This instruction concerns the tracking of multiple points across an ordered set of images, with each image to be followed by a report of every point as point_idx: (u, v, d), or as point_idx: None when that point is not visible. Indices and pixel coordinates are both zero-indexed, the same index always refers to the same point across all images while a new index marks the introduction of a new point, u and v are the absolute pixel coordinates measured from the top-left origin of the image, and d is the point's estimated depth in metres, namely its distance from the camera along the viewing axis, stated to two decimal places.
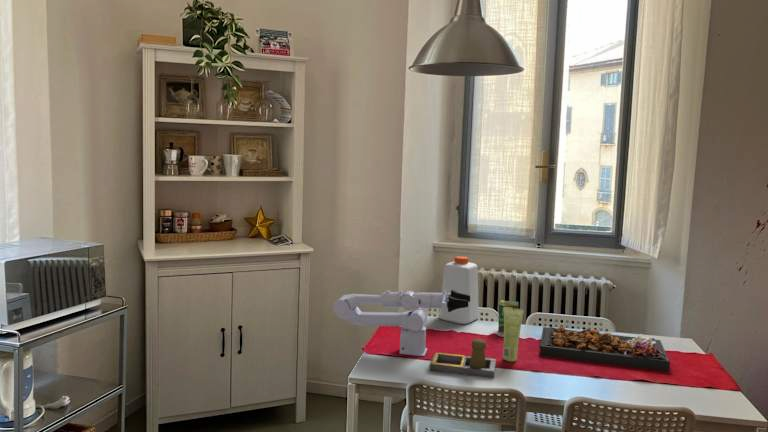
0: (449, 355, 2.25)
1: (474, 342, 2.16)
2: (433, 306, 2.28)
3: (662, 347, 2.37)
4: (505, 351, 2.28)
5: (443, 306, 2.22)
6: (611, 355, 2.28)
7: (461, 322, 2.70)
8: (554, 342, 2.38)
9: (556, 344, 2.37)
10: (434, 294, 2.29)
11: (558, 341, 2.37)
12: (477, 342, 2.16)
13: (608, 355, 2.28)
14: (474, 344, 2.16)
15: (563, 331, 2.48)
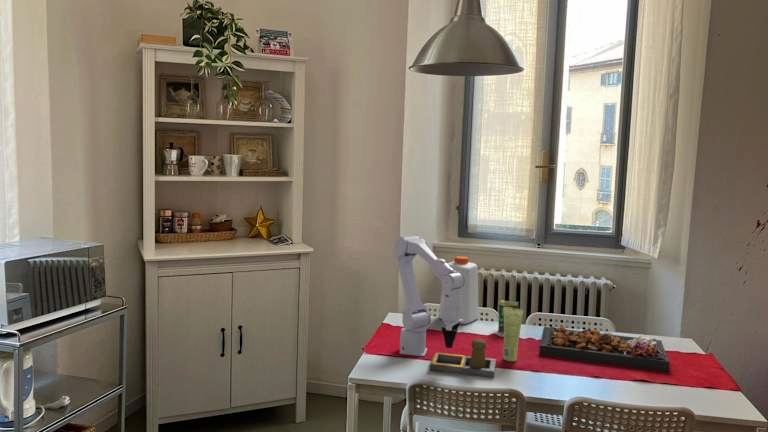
0: (449, 355, 2.25)
1: (474, 342, 2.16)
2: (446, 309, 2.16)
3: (663, 347, 2.37)
4: (505, 351, 2.28)
5: (447, 326, 2.12)
6: (610, 355, 2.28)
7: (461, 322, 2.70)
8: (554, 342, 2.38)
9: (556, 344, 2.37)
10: (458, 311, 2.16)
11: (558, 341, 2.37)
12: (477, 342, 2.16)
13: (607, 355, 2.28)
14: (474, 344, 2.16)
15: (563, 331, 2.48)
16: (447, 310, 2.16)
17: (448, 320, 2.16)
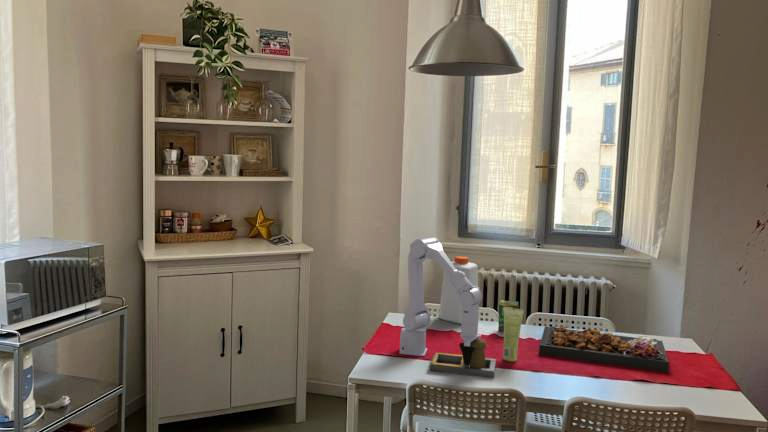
0: (449, 355, 2.25)
1: (474, 342, 2.16)
2: (464, 325, 2.15)
3: (663, 348, 2.36)
4: (505, 351, 2.28)
5: (466, 342, 2.11)
6: (610, 355, 2.28)
7: (461, 322, 2.70)
8: (554, 341, 2.39)
9: (556, 343, 2.37)
10: (476, 326, 2.15)
11: (558, 340, 2.37)
12: (477, 342, 2.16)
13: (607, 355, 2.28)
14: (474, 344, 2.16)
15: (564, 331, 2.48)
16: (465, 326, 2.15)
17: (466, 336, 2.15)
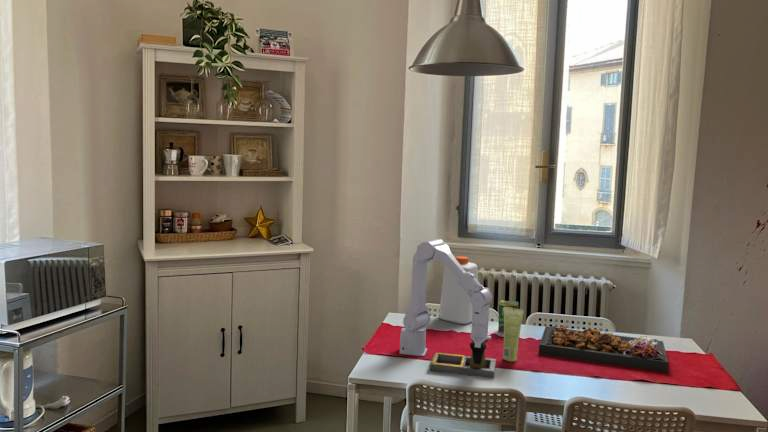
0: (449, 355, 2.25)
1: (474, 342, 2.16)
2: (474, 326, 2.15)
3: (663, 348, 2.36)
4: (505, 351, 2.28)
5: (476, 344, 2.10)
6: (610, 355, 2.28)
7: (461, 322, 2.70)
8: (554, 341, 2.39)
9: (555, 343, 2.38)
10: (486, 327, 2.15)
11: (557, 340, 2.38)
12: None
13: (607, 355, 2.28)
14: None
15: (564, 330, 2.49)
16: (475, 327, 2.14)
17: (476, 337, 2.14)
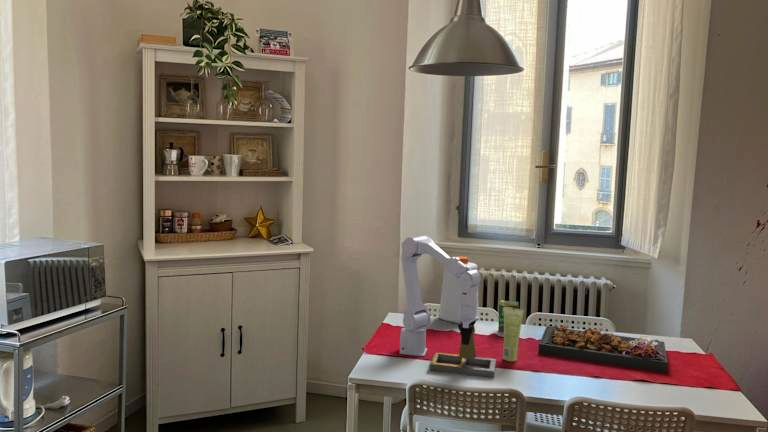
0: (449, 355, 2.25)
1: None
2: (462, 307, 2.15)
3: (664, 348, 2.35)
4: (505, 351, 2.28)
5: (464, 324, 2.10)
6: (609, 355, 2.28)
7: None
8: (553, 340, 2.39)
9: (555, 342, 2.38)
10: (475, 308, 2.15)
11: (557, 339, 2.38)
12: None
13: (606, 355, 2.28)
14: None
15: (565, 330, 2.49)
16: (464, 308, 2.14)
17: (464, 318, 2.14)
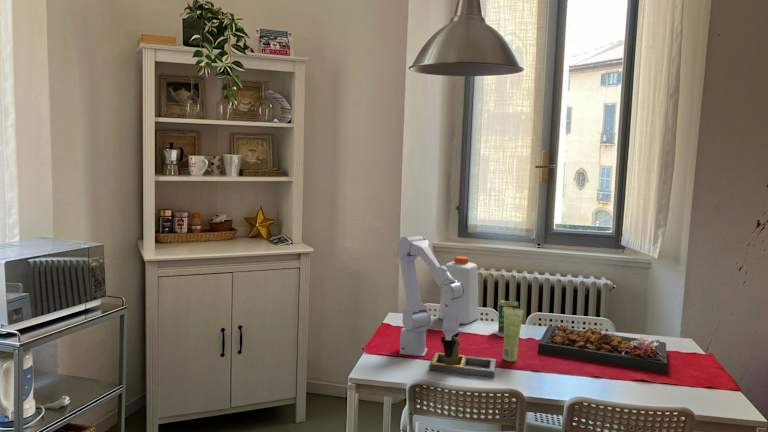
0: None
1: None
2: (445, 319, 2.17)
3: (665, 349, 2.35)
4: (505, 351, 2.28)
5: (447, 336, 2.12)
6: (608, 354, 2.28)
7: (461, 322, 2.70)
8: (553, 340, 2.40)
9: (555, 342, 2.39)
10: (458, 320, 2.17)
11: (557, 339, 2.39)
12: None
13: (605, 354, 2.29)
14: None
15: (566, 330, 2.50)
16: (447, 320, 2.16)
17: (448, 330, 2.16)
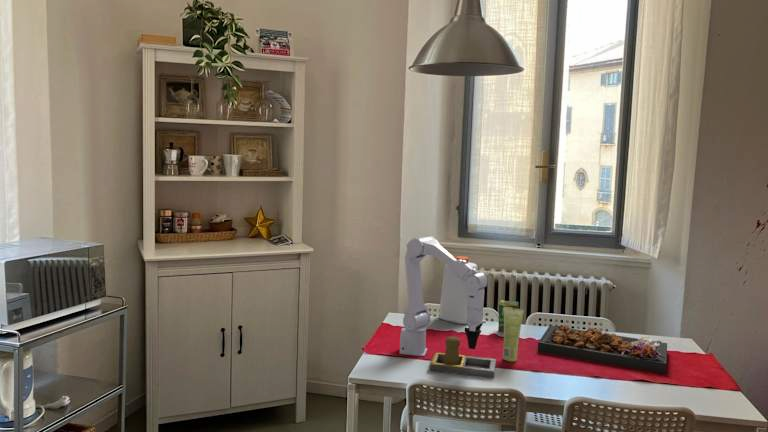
0: None
1: (448, 340, 2.18)
2: (469, 310, 2.14)
3: (665, 350, 2.34)
4: (505, 351, 2.28)
5: (471, 327, 2.10)
6: (607, 354, 2.28)
7: (461, 322, 2.70)
8: (553, 339, 2.41)
9: (555, 341, 2.40)
10: (481, 311, 2.14)
11: (557, 338, 2.40)
12: (451, 340, 2.17)
13: (604, 354, 2.29)
14: (447, 341, 2.17)
15: (566, 329, 2.50)
16: (470, 311, 2.14)
17: (471, 321, 2.14)
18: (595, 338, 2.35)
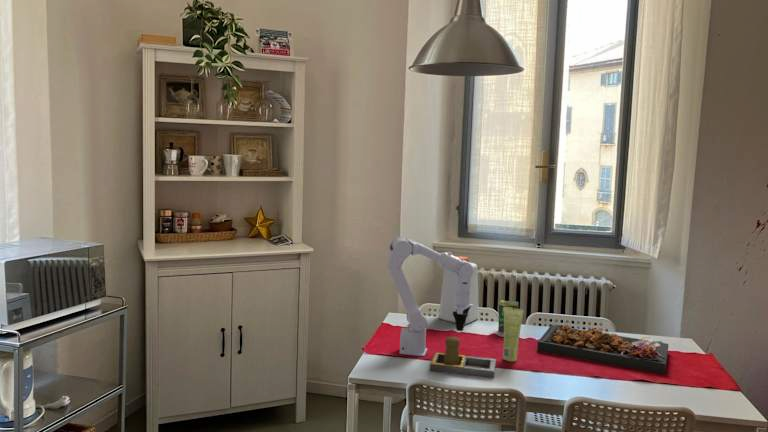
0: None
1: (448, 340, 2.18)
2: (457, 295, 2.32)
3: (666, 350, 2.34)
4: (505, 351, 2.28)
5: (459, 310, 2.27)
6: (606, 354, 2.29)
7: None
8: (553, 339, 2.41)
9: (555, 341, 2.40)
10: (468, 296, 2.32)
11: (557, 338, 2.40)
12: (450, 340, 2.17)
13: (604, 354, 2.29)
14: (447, 341, 2.17)
15: (567, 329, 2.50)
16: (458, 295, 2.32)
17: (459, 305, 2.32)
18: (595, 338, 2.36)
